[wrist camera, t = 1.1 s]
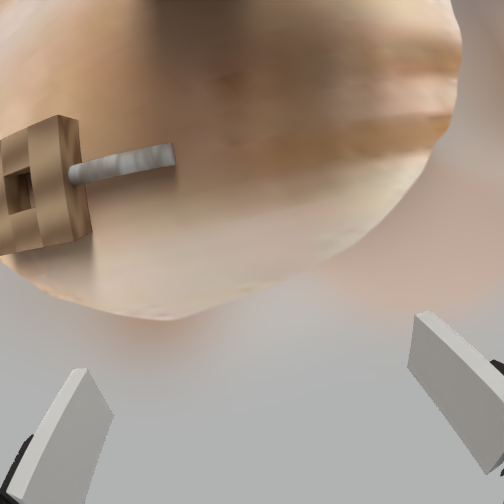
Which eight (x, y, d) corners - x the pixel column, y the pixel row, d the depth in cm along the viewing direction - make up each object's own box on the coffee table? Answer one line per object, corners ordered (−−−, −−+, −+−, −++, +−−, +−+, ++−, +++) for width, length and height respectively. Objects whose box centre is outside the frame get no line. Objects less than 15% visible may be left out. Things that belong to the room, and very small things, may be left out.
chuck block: (1, 150, 28) (-21, 151, 23) (171, 96, 29) (161, 84, 24) (15, 246, 32) (-5, 256, 27) (185, 216, 33) (178, 224, 28)
